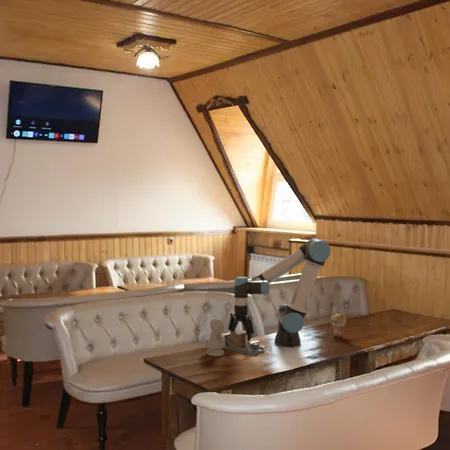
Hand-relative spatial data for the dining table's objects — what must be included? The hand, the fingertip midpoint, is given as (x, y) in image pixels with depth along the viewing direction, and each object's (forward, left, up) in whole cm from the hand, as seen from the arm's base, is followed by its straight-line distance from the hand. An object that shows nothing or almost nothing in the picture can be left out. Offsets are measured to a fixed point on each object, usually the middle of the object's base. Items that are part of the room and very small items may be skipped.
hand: (240, 344), depth 328 cm
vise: (0, 0, -3) cm, 3 cm away
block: (0, -1, -1) cm, 2 cm away
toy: (-68, +20, -3) cm, 71 cm away
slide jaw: (0, +10, -1) cm, 10 cm away
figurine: (+17, -3, -3) cm, 18 cm away
